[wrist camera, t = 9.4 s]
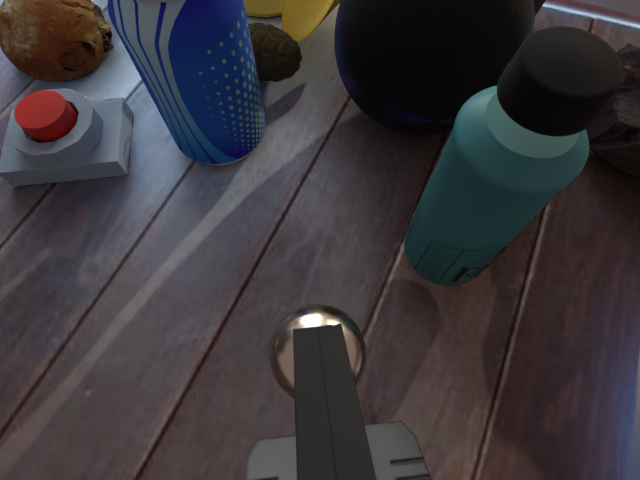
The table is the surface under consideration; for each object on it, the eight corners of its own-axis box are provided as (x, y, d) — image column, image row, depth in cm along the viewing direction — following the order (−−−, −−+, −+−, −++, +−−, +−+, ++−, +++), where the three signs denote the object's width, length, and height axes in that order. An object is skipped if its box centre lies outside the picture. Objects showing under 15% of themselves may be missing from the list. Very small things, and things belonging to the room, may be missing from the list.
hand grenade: (315, 38, 39) (234, 21, 43) (282, 21, 34) (194, 3, 38) (302, 92, 40) (226, 70, 44) (269, 82, 35) (186, 59, 39)
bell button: (24, 144, 34) (9, 131, 32) (32, 106, 35) (18, 92, 34) (73, 140, 34) (61, 126, 32) (79, 102, 35) (68, 87, 34)
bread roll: (90, 38, 49) (26, -31, 42) (141, 27, 43) (76, -54, 37) (35, 97, 45) (-43, 32, 39) (84, 94, 39) (2, 17, 33)
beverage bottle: (435, 310, 32) (590, 162, 13) (381, 246, 34) (450, 43, 16) (495, 264, 33) (709, 72, 15) (439, 205, 35) (565, -24, 17)
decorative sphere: (509, 160, 37) (621, 7, 23) (345, 179, 36) (359, 33, 22) (464, 40, 43) (531, -138, 29) (322, 55, 42) (322, -121, 28)
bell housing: (14, 186, 36) (-21, 160, 33) (27, 123, 39) (-4, 93, 35) (128, 175, 37) (107, 148, 33) (133, 113, 40) (114, 82, 36)
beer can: (242, 185, 36) (188, 26, 22) (160, 154, 38) (57, -15, 23) (282, 115, 39) (259, -65, 25) (206, 89, 41) (140, -96, 26)
